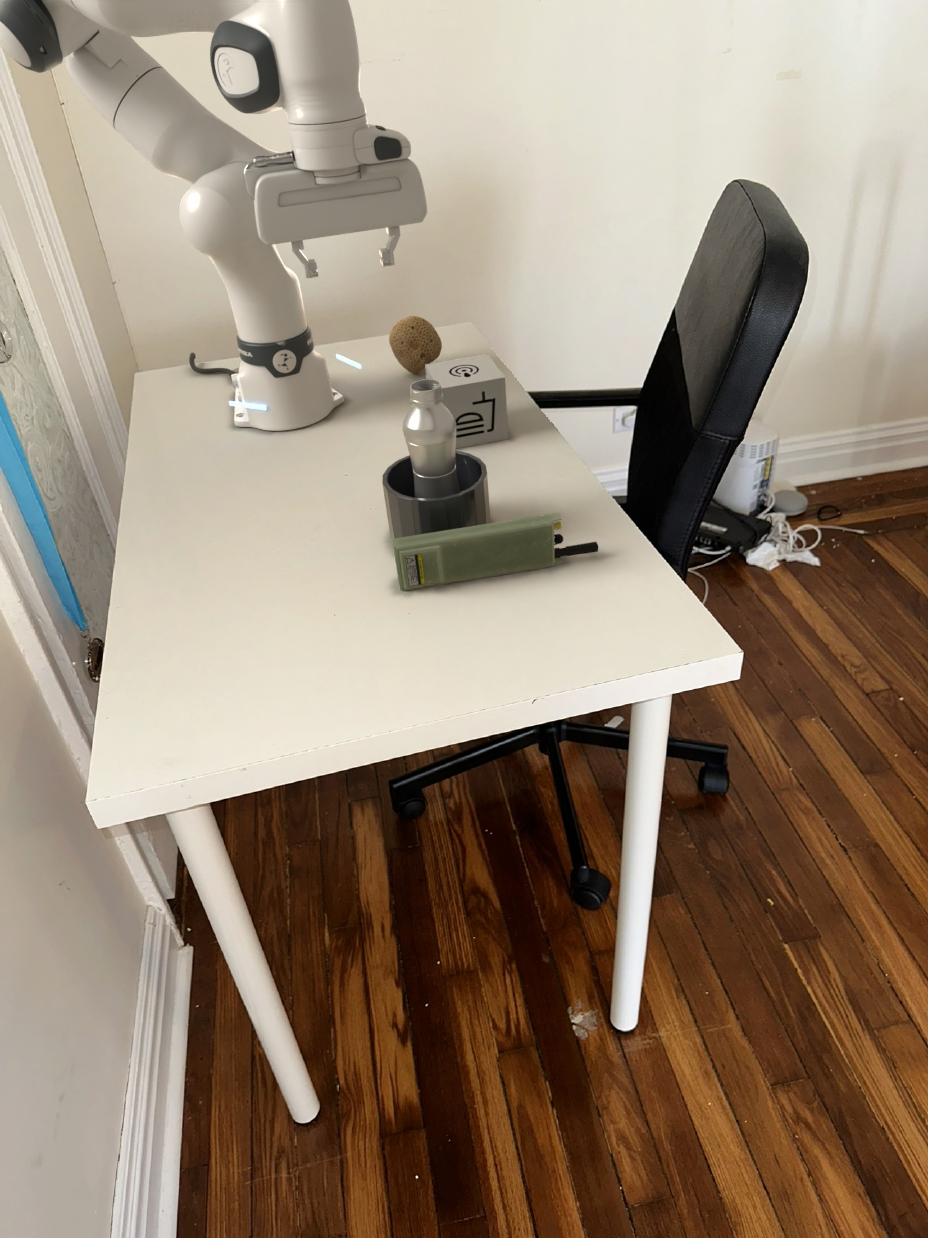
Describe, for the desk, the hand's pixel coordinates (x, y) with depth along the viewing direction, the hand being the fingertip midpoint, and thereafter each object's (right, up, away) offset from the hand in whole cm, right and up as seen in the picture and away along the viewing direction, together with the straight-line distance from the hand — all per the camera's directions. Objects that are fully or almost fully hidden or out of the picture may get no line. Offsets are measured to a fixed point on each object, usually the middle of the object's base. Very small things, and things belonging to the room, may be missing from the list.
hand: (350, 270), depth 112 cm
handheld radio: (+18, -37, +1) cm, 41 cm away
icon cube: (+15, -13, +32) cm, 38 cm away
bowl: (+11, -31, +9) cm, 34 cm away
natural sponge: (+6, +2, +53) cm, 53 cm away
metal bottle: (+11, -31, +8) cm, 34 cm away
